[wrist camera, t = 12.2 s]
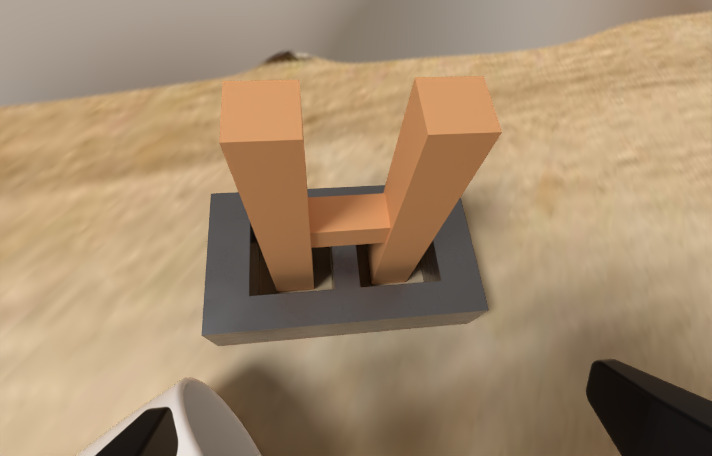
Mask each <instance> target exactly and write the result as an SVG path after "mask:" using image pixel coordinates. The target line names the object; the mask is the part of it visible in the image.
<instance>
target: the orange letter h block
mask: <svg viewBox="0 0 712 456" xmlns="http://www.w3.org/2000/svg"><path fill="white" fill-rule="evenodd" d="M501 133H502V131H501V128H500V125H499V122H498V119H497V116H496V113H495V110H494V107H493V103H492V100H491V97H490V94H489V91H488V88H487V85H486V82H485V79H484V76H464V77H415V79H414V83H413V86H412V90H411V94H410V97H409V101H408V105H407V108H406V112H405V116H404V119H403V123H402V127H401V130H400V134H399V138H398V141H397V145H396V148H395V152H394V156H393V159H392V163H391V167H390V170H389V174H388V178H387V181H386V185H385V189H384V192H383V193H380V194H362V195H344V196H325V197H308V192H307V179H306V165H305V151H304V138H303V124H302V110H301V97H300V83H299V80H262V81H223V85H222V104H221V123H220V142H219V143H220V145H221V148H222V150H223V153H224V156H225V158H226V161H227V163H228V166H229V169H230V171H231V174H232V176H233V179H234V181H235V184H236V187H237V189H238V192H239V194H240V197H241V199H242V202H243V205H244V207H245V210H246V212H247V215H248V218H249V220H250V223H251V225H252V228H253V230H254V233H255V236H256V238H257V241H258V243H259V246H260V248H261V251H262V254H263V256H264V259H265V261H266V264H267V267H268V269H269V272H270V274H271V277H272V279H273V282H274V285H275V287H276V290H277V292H285V291H298V290H310V289H314V278H313V262H312V248H315V247H329V246H343V245H358V244H369V247H368V250H367V253H368V261H369V269H370V277H371V284H383V283H396V282H406V281H407V280H408V278H409V277H410V275H411V273H412V272H413V270H414V269H415V267H416V266H417V264H418V263H419V261H420V259H421V258H422V256H423V255H424V253H425V252H426V250H427V248H428V247H429V245H430V244H431V242H432V241H433V239H434V238H435V236H436V234H437V233H438V231H439V230H440V228H441V227H442V225H443V223H444V222H445V220H446V219H447V217H448V216H449V214H450V213H451V211H452V209H453V208H454V206H455V205H456V203H457V202H458V200H459V199H460V197H461V195H462V194H463V192H464V191H465V189H466V188H467V186H468V184H469V183H470V181H471V180H472V178H473V177H474V175H475V174H476V172H477V170H478V169H479V167H480V166H481V164H482V163H483V161H484V159H485V158H486V156H487V155H488V153H489V152H490V150H491V149H492V147H493V145H494V144H495V142H496V141H497V139H498V138H499V136H500V134H501Z"/></svg>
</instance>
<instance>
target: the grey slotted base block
mask: <svg viewBox="0 0 712 456" xmlns="http://www.w3.org/2000/svg"><path fill="white" fill-rule="evenodd" d="M384 189H385V185H382V186H361V187H341V188H320V189H307V192H308V197H325V196H344V195H362V194H380V193H383V192H384ZM329 250H330V263H331V276H332V288H333V290H322V291H309V292H296V293H284V294H271V295H259V243H258V241H257V238H256V236H255V233H254V230H253V228H252V225H251V223H250V220H249V218H248V215H247V212H246V210H245V207H244V205H243V202H242V199H241V197H240V194H239V192H237V193H216V194H211V202H210V217H209V232H208V247H207V262H206V277H205V293H204V308H203V323H202V336H203V337H205V338H206V339H208V340H210V341H211V342H213V343H214V344H216V345H218V346H225V345H236V344H247V343H258V342H269V341H280V340H290V339H301V338H312V337H323V336H334V335H345V334H356V333H367V332H378V331H389V330H400V329H411V328H422V327H433V326H444V325H455V324H466V323H469V322H470V321H472V320H474V319H475V318H477V317H479V316H480V315H482V314H483V313H485V312H487V311H488V310H489V309H488V305H487V301H486V297H485V293H484V289H483V285H482V281H481V277H480V273H479V269H478V265H477V261H476V257H475V253H474V250H473V246H472V242H471V238H470V234H469V230H468V226H467V222H466V218H465V214H464V210H463V206H462V202H461V198H460V199H459V200H458V202H457V203H456V205H455V206H454V208H453V209H452V211H451V213H450V214H449V216H448V217H447V219H446V220H445V222H444V223H443V225H442V227H441V228H440V230H439V231H438V233H437V234H436V236H435V238H434V239H433V241H432V242H431V244H430V245H429V247H428V248H427V250H426V252H425V253H424V255H423V256H422V258H421V259H420V264H421V269H422V275H423V280H424V283H412V284H399V285H386V286H373V287H361V288H360V279H359V270H358V261H357V252H356V245H343V246H329Z"/></svg>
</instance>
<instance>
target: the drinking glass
mask: <svg viewBox="0 0 712 456" xmlns="http://www.w3.org/2000/svg"><path fill="white" fill-rule="evenodd" d="M158 407H169V408H170V409H171V411H172V414H173V418H174V422H175V427H176V431H177V436H178V451H177V456H261V454H260V452H259V450H258V448H257V446H256V445H255V443H254V441H253V440H252V438H251V436H250V435H249V433H248V432H247V430H246V429H245V427H244V426H243V424H242V423H241V421H240V420H239V419H238V417H237V416H236V415H235V413H234V412H233V411H232V410H231V408H230V407H229V406H228V405H227V404H226V403H225V401H224V400H223V399H222V398H221V397H220V396H219V395H218V394H217V393H216V392H215V391H214V390H212V389H211V388H210V387H209V386H207V385H206V384H205V383H203V382H201V381H199V380H197V379H195V378H183V379H181V380H179V381H178V382H177V383H175V384H174V385H172V386H171V387H169V388H168V389H166V390H165V391H163V392H162V393H160V394H159V395H157V396H156V397H154V398H153V399H151V400H150V401H148V402H147V403H145V404H144V405H143V406H141V407H140V408H138V409H137V410H135V411H134V412H132V413H131V414H130V415H128V416H127V417H125V418H124V419H123V420H121V421H120V422H118V423H117V424H116V425H114V426H113V427H112V428H110V429H109V430H108V431H106V432H105V433H104V434H102V435H101V436H100V437H98V438H97V439H96V440H94V441H93V442H92V443H90V444H89V445H88V446H87V447H85V448H84V449H83V450H81V451H80V452H79V453H78V454H76V455H75V456H95V455H96V454H97V453H98V452H99V451H100V450H101V449H102V448H104V447H105V446H106V445H107V444H108V443H109V442H110V441H111V440H113V439H114V438H115V437H116V436H117V435H118V434H119V433H120V432H122V431H123V430H124V429H125V428H126V427H127V426H128V425H129V424H131V423H132V422H133V421H134V420H135V419H136V418H137V417H138V416H140V415H141V414H142V413H143V412H144V411H145V410H147V409H150V408H158Z"/></svg>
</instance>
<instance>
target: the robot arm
mask: <svg viewBox="0 0 712 456" xmlns="http://www.w3.org/2000/svg"><path fill="white" fill-rule="evenodd" d="M586 395H587V398H588V401H589V403H590V404H591V406H592V408H593V409H594V411H595V413H596V414H597V416H598V418H599V419H600V421H601V423H602V424H603V426H604V428H605V429H606V431H607V432H608V434H609V436H610V437H611V439H612V441H613V442H614V444H615V446H616V447H617V449H618V451H619V452H620V454H621V456H712V401H710V400H707V399H705V398H703V397H701V396H698V395H696V394H694V393H691V392H689V391H687V390H684V389H682V388H680V387H677V386H675V385H673V384H670V383H668V382H666V381H664V380H661V379H659V378H657V377H654V376H652V375H650V374H647V373H645V372H643V371H640V370H638V369H636V368H633V367H631V366H629V365H627V364H624V363H622V362H620V361H617V360H615V359H603V360H596V361H594V362H593V363H592V365H591V369H590V373H589V378H588V383H587V387H586ZM177 451H178V436H177V431H176V427H175V422H174V418H173V414H172V411H171V409H170V408H169V407H158V408H150V409H147V410H145V411H144V412H143V413H142V414H141V415H140V416H138V417H137V418H136V419H135V420H134V421H133V422H132V423H131V424H129V425H128V426H127V427H126V428H125V429H124V430H123V431H122V432H120V433H119V434H118V435H117V436H116V437H115V438H114V439H113V440H111V441H110V442H109V443H108V444H107V445H106V446H105V447H104V448H102V449H101V450H100V451H99V452H98V453H97V454H96V455H95V456H177Z"/></svg>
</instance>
